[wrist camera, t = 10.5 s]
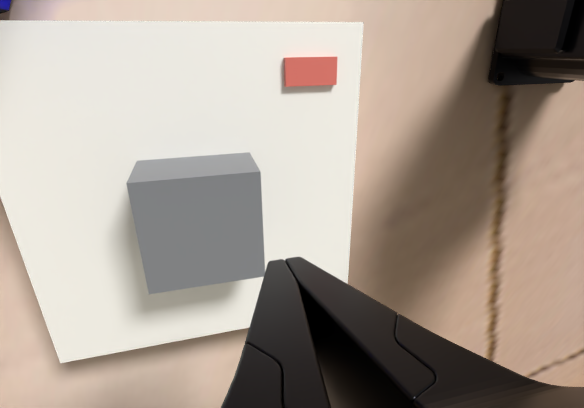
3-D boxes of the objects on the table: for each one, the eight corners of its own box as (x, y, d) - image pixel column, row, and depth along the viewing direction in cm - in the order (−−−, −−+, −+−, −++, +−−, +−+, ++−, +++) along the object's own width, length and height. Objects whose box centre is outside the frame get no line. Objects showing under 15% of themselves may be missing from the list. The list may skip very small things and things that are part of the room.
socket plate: (339, 25, 19) (366, 21, 16) (329, 281, 25) (348, 312, 22) (-19, 25, 15) (-69, 19, 12) (76, 324, 21) (58, 367, 19)
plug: (241, 138, 20) (260, 171, 14) (246, 220, 22) (265, 276, 16) (144, 144, 19) (126, 183, 13) (159, 230, 21) (148, 294, 15)
